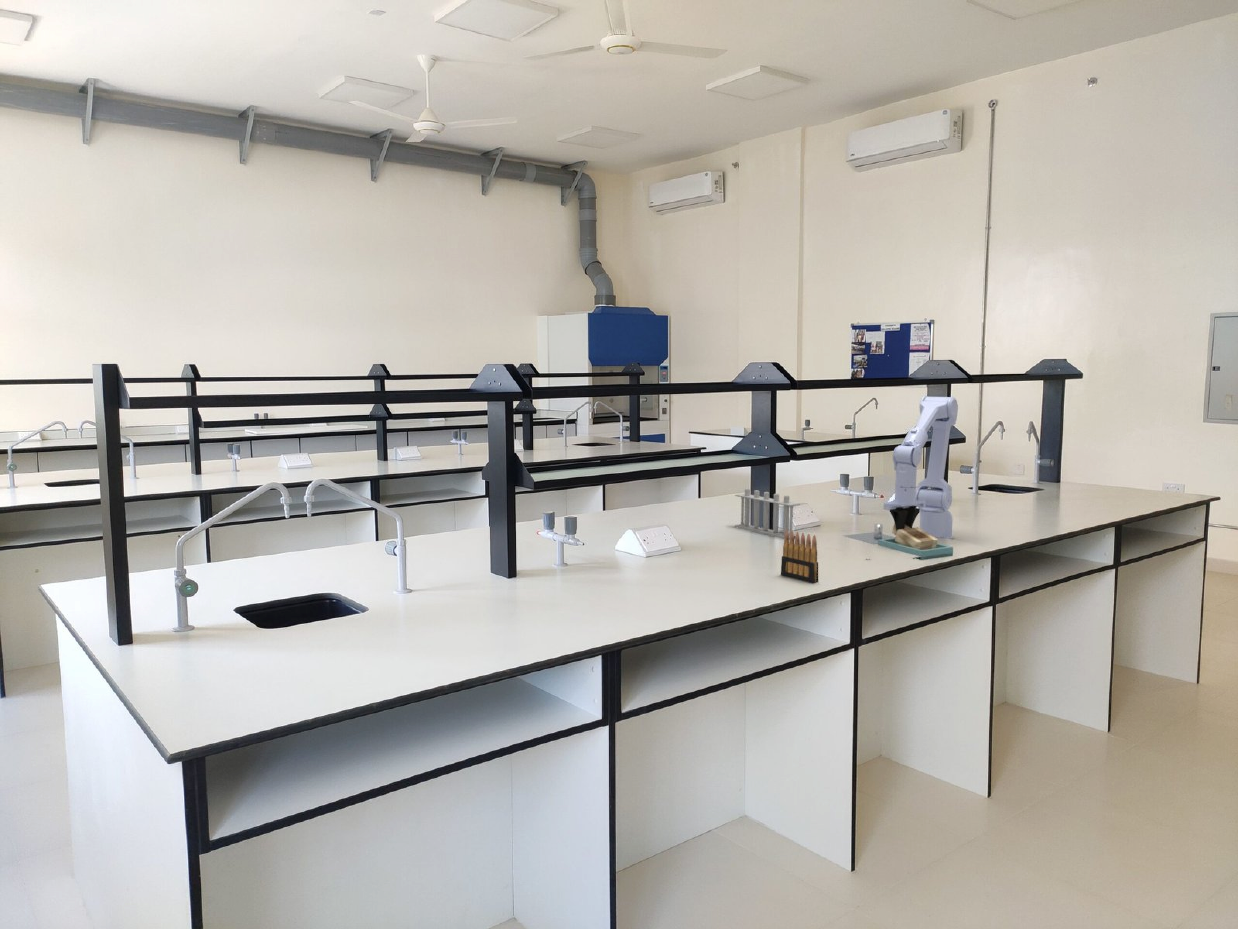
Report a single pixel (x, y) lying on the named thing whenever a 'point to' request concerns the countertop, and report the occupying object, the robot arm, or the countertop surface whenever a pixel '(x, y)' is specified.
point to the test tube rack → (766, 513)
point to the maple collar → (914, 538)
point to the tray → (925, 554)
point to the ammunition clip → (800, 558)
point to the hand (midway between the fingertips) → (903, 532)
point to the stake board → (871, 535)
